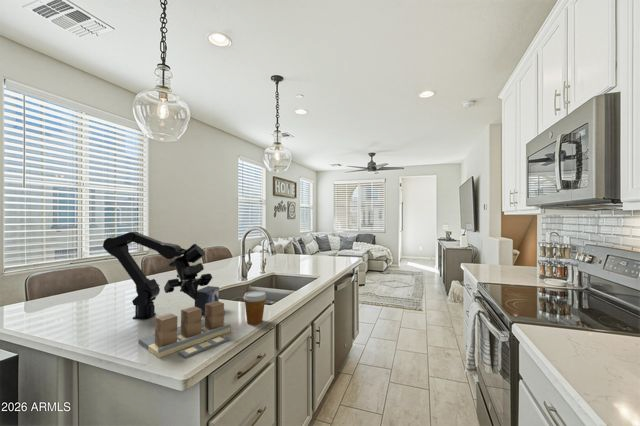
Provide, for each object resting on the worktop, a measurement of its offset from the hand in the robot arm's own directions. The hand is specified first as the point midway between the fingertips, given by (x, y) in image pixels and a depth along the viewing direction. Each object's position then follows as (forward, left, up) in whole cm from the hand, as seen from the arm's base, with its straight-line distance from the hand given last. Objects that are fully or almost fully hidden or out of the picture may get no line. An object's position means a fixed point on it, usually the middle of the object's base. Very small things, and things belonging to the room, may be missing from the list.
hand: (196, 299), depth 116 cm
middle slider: (+5, -14, -8) cm, 17 cm away
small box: (-2, +15, -10) cm, 19 cm away
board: (+3, -13, -10) cm, 16 cm away
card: (+13, -20, -10) cm, 26 cm away
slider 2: (+11, -7, -8) cm, 16 cm away
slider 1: (+1, -22, -8) cm, 24 cm away
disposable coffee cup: (+24, +3, -10) cm, 26 cm away
